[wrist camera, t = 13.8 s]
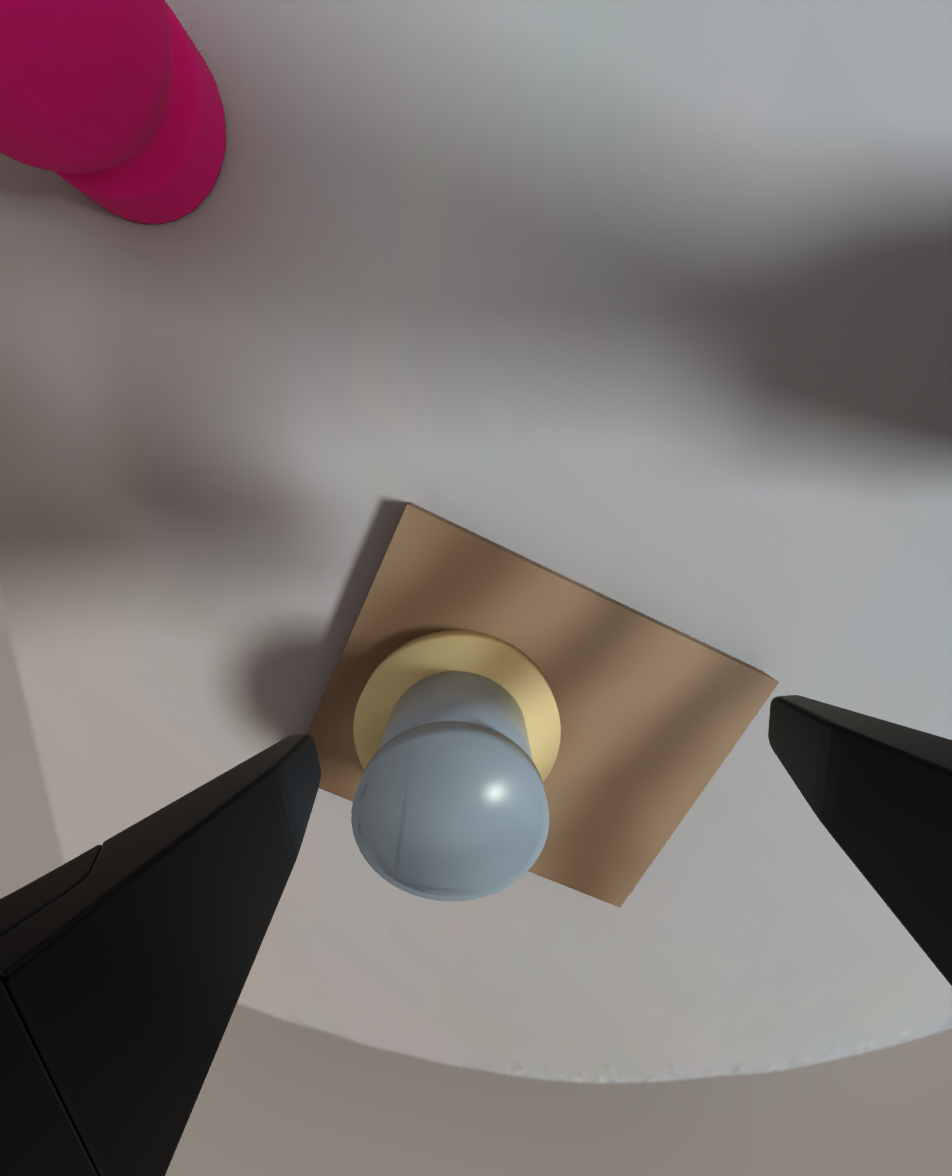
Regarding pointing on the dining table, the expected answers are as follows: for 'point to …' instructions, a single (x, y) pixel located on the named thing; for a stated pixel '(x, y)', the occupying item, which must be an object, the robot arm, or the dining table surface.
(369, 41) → the dining table surface
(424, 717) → the cap
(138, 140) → the pepper mill
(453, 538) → the base
